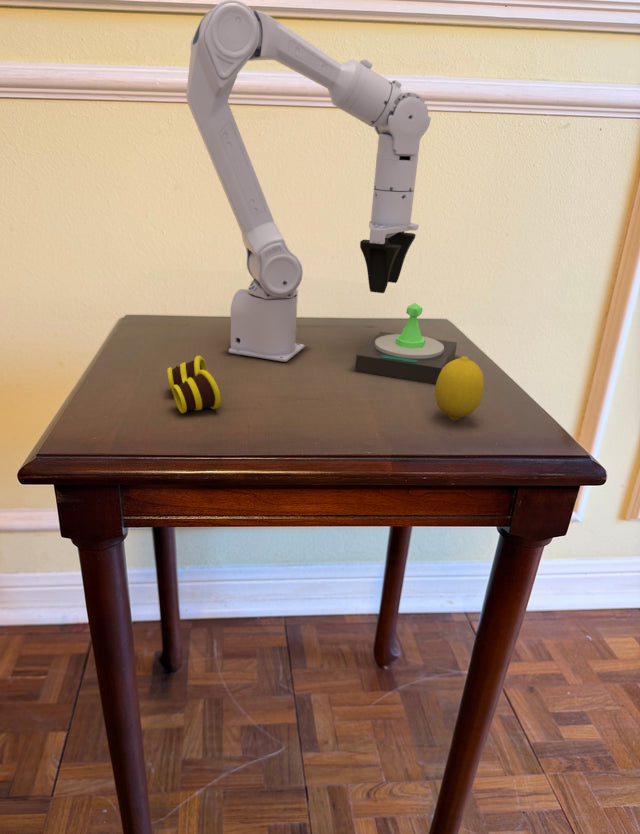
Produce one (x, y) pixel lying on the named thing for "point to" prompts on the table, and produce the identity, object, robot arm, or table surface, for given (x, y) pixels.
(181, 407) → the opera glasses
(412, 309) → the game piece
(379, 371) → the scale
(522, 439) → the table surface
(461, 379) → the lemon
